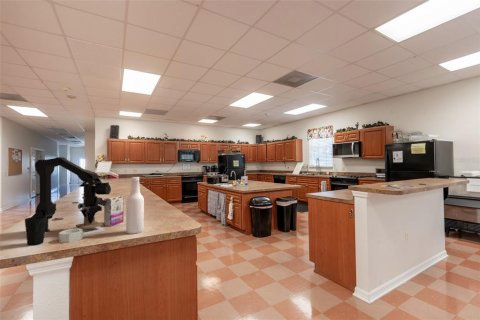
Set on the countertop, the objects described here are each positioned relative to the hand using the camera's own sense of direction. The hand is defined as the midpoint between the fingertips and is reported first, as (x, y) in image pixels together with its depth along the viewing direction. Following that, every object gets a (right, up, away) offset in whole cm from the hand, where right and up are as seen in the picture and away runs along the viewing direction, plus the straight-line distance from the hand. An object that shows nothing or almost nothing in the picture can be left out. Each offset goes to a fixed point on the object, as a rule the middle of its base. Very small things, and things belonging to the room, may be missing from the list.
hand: (89, 222), depth 126 cm
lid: (0, -2, 0) cm, 2 cm away
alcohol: (+27, -5, -2) cm, 27 cm away
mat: (0, -5, 0) cm, 4 cm away
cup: (-11, -4, -21) cm, 24 cm away
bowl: (+1, -4, -15) cm, 16 cm away
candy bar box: (+6, -5, +15) cm, 16 cm away
